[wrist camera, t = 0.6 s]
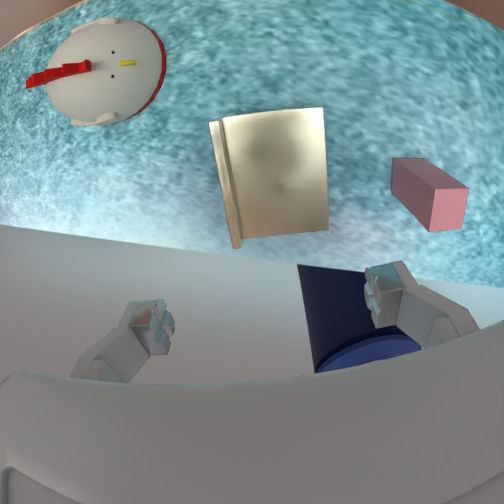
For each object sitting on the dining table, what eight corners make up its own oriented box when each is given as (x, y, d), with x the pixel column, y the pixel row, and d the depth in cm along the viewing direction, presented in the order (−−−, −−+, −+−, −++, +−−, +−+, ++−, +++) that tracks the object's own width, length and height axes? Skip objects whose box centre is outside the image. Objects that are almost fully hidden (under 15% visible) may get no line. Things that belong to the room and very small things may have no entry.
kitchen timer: (165, 117, 31) (108, 145, 18) (74, 127, 31) (0, 161, 18) (168, 13, 23) (112, -21, 11) (73, 34, 23) (-5, 32, 11)
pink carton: (420, 191, 35) (461, 228, 26) (390, 192, 36) (428, 232, 27) (423, 158, 32) (469, 188, 23) (392, 158, 33) (435, 189, 24)
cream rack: (319, 208, 37) (332, 238, 31) (237, 216, 38) (233, 249, 32) (312, 103, 30) (327, 108, 23) (219, 113, 31) (208, 122, 24)
